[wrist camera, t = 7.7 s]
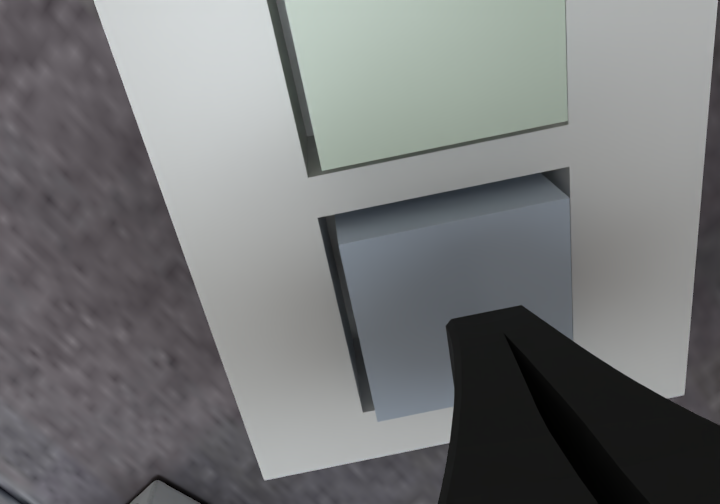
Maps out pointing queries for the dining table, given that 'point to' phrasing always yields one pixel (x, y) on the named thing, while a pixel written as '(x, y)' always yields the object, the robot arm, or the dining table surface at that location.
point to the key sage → (426, 72)
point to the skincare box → (162, 495)
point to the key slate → (450, 278)
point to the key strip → (402, 182)
